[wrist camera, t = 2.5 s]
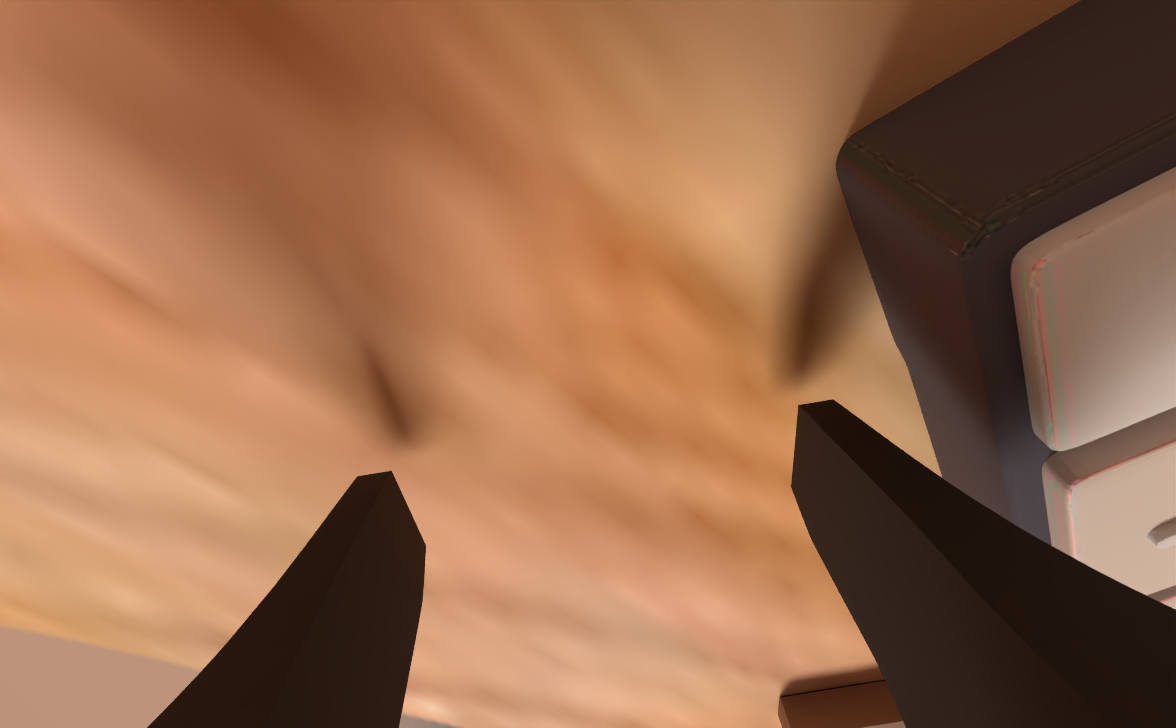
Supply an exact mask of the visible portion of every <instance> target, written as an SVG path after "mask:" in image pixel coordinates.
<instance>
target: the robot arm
mask: <svg viewBox="0 0 1176 728" xmlns="http://www.w3.org/2000/svg"><path fill="white" fill-rule="evenodd" d="M791 488H792V490H793V493H794V496H795V498H796V501H797V504H798V506H799V509H800V512H801V514H802V517H803V520H804V522H805V525H806V527H807V530H808V532H809V535H810V537H811V539H812V541H813V543H814V545H815V547H816V549H817V551H818V553H819V555H820V557H821V559H822V561H823V562H824V564H825V566H826V568H827V570H828V572H829V574H830V576H831V578H832V580H833V581H834V583H835V585H836V587H837V589H838V591H839V593H840V594H841V596H842V598H843V600H844V602H845V604H846V606H847V607H848V609H849V611H850V613H851V615H852V617H853V619H854V621H855V622H856V624H857V626H858V628H859V630H860V632H861V634H862V635H863V637H864V639H865V641H866V643H867V645H868V647H869V649H870V650H871V652H872V654H873V656H874V658H875V660H876V662H877V664H878V666H879V668H880V670H881V672H882V674H883V676H884V678H885V680H886V682H887V685H888V687H889V689H890V691H891V694H892V696H893V698H894V701H895V703H896V705H897V708H898V710H899V713H900V715H901V717H902V720H903V722H904V724H905V727H906V728H1176V609H1174V608H1172V607H1169V606H1167V605H1165V604H1163V603H1161V602H1159V601H1157V600H1155V599H1153V598H1151V597H1149V596H1147V595H1145V594H1142V593H1140V592H1138V591H1136V590H1134V589H1132V588H1130V587H1128V586H1126V585H1124V584H1122V583H1120V582H1118V581H1116V580H1114V579H1112V578H1110V577H1108V576H1107V575H1105V574H1103V573H1101V572H1099V571H1097V570H1095V569H1093V568H1091V567H1089V566H1088V565H1086V564H1084V563H1082V562H1080V561H1078V560H1077V559H1075V558H1073V557H1071V556H1069V555H1067V554H1066V553H1064V552H1062V551H1060V550H1058V549H1057V548H1055V547H1053V546H1051V545H1049V544H1047V543H1046V542H1044V541H1042V540H1040V539H1038V538H1037V537H1035V536H1033V535H1032V534H1030V533H1028V532H1027V531H1025V530H1023V529H1021V528H1020V527H1018V526H1016V525H1015V524H1013V523H1011V522H1010V521H1008V520H1007V519H1005V518H1003V517H1002V516H1000V515H999V514H997V513H995V512H994V511H992V510H991V509H989V508H987V507H986V506H984V505H983V504H981V503H979V502H978V501H976V500H975V499H973V498H971V497H970V496H968V495H967V494H965V493H964V492H962V491H961V490H959V489H958V488H956V487H955V486H953V485H952V484H950V483H949V482H947V481H946V480H944V479H943V478H941V477H940V476H938V475H937V474H935V473H934V472H933V471H931V470H930V469H928V468H927V467H925V466H924V465H922V464H921V463H920V462H918V461H917V460H915V459H914V458H913V457H911V456H910V455H908V454H907V453H906V452H904V451H903V450H901V449H900V448H899V447H897V446H896V445H894V444H893V443H892V442H890V441H889V440H888V439H886V438H885V437H884V436H882V435H881V434H879V433H878V432H877V431H875V430H874V429H873V428H871V427H870V426H869V425H867V424H866V423H865V422H863V421H862V420H861V419H859V418H858V417H857V416H855V415H854V414H852V413H851V412H850V411H848V410H847V409H846V408H844V407H843V406H842V405H840V404H839V403H837V402H836V401H835V400H827V401H821V402H815V403H809V404H802V405H798V416H797V427H796V439H795V450H794V461H793V473H792V484H791ZM425 553H426V545H425V543H424V540H423V538H422V536H421V534H420V532H419V530H418V527H417V525H416V523H415V521H414V519H413V516H412V514H411V512H410V510H409V508H408V506H407V503H406V501H405V499H404V497H403V495H402V493H401V490H400V488H399V486H398V484H397V482H396V479H395V477H394V475H393V473H392V471H388V472H382V473H376V474H369V475H363V476H357V478H356V479H355V480H354V482H353V483H352V484H351V485H350V487H349V488H348V489H347V491H346V492H345V493H344V495H343V496H342V497H341V499H340V500H339V501H338V503H337V504H336V505H335V507H334V508H333V509H332V511H331V512H330V513H329V515H328V516H327V518H326V519H325V520H324V522H323V523H322V524H321V526H320V527H319V528H318V530H317V531H316V532H315V534H314V535H313V536H312V538H311V539H310V540H309V542H308V543H307V544H306V546H305V547H304V548H303V550H302V551H301V552H300V553H299V555H298V556H297V557H296V559H295V560H294V561H293V563H292V564H291V565H290V566H289V568H288V569H287V570H286V572H285V573H284V574H283V576H282V577H281V578H280V579H279V581H278V582H277V583H276V585H275V586H274V587H273V588H272V590H271V591H270V592H269V593H268V594H267V596H266V597H265V598H264V599H263V600H262V602H261V603H260V604H259V605H258V606H257V608H256V609H255V610H254V611H253V612H252V614H251V615H250V616H249V617H248V618H247V620H246V621H245V622H244V623H243V624H242V626H241V627H240V628H239V629H238V630H237V632H236V633H235V634H234V635H233V636H232V638H231V639H230V640H229V641H228V642H227V643H226V645H225V646H224V647H223V648H222V649H221V650H220V651H219V653H218V654H217V655H216V656H215V657H214V658H213V659H212V660H211V661H210V662H209V664H208V665H207V666H206V667H205V668H204V669H203V670H202V671H201V672H200V673H199V675H198V676H197V677H196V678H195V679H194V680H193V681H192V682H191V683H190V684H189V685H188V686H187V687H186V688H185V690H183V691H182V693H180V695H179V696H178V697H177V698H176V699H175V700H174V701H173V702H172V703H171V704H170V705H169V706H168V707H167V708H166V709H165V710H164V711H163V712H162V713H161V714H160V715H159V716H158V717H157V718H156V719H155V720H154V721H153V722H152V723H151V724H150V725H149V726H148V727H147V728H399V724H400V718H401V713H402V708H403V703H404V697H405V692H406V687H407V682H408V677H409V671H410V666H411V661H412V656H413V651H414V645H415V640H416V634H417V629H418V624H419V618H420V612H421V607H422V601H423V587H424V573H425Z"/></svg>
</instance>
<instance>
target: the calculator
mask: <svg viewBox="0 0 1176 728" xmlns="http://www.w3.org/2000/svg"><path fill="white" fill-rule="evenodd" d="M836 171H837V176H838V180H839V183H840V186H841V190H842V192H843V195H844V198H845V201H846V204H847V207H848V210H849V213H850V215H851V218H852V221H853V224H854V227H855V230H856V233H857V236H858V238H859V241H860V244H861V247H862V250H863V253H864V256H865V259H866V261H867V264H868V267H869V270H870V273H871V276H872V279H873V282H874V285H875V287H876V290H877V293H878V296H879V299H880V302H881V305H882V308H883V310H884V313H885V316H886V319H887V322H888V325H889V328H890V331H891V333H892V336H893V338H894V341H895V343H896V345H897V347H898V349H899V351H900V353H901V355H902V356H903V358H904V360H905V362H906V364H907V367H908V369H909V372H910V376H911V379H912V382H913V385H914V388H915V391H916V395H917V398H918V401H919V404H920V407H921V410H922V414H923V417H924V420H925V423H926V426H927V429H928V433H929V436H930V439H931V442H932V445H933V448H934V452H935V455H936V458H937V461H938V464H939V468H940V471H941V474H942V477H943V479H944V480H946V481H947V482H949V483H950V484H952V485H953V486H955V487H956V488H958V489H959V490H961V491H962V492H964V493H965V494H967V495H968V496H970V497H971V498H973V499H975V500H976V501H978V502H979V503H981V504H983V505H984V506H986V507H987V508H989V509H991V510H992V511H994V512H995V513H997V514H999V515H1000V516H1002V517H1003V518H1005V519H1007V520H1008V521H1010V522H1011V523H1013V524H1015V525H1016V526H1018V527H1020V528H1021V529H1023V530H1025V531H1027V532H1028V533H1030V534H1032V535H1033V536H1035V537H1037V538H1038V539H1040V540H1042V541H1044V542H1046V543H1047V544H1049V545H1051V546H1053V547H1055V548H1057V549H1058V550H1060V551H1062V552H1064V553H1066V554H1067V555H1069V556H1071V557H1073V558H1075V559H1077V560H1078V561H1080V562H1082V563H1084V564H1086V565H1088V566H1089V567H1091V568H1093V569H1095V570H1097V571H1099V572H1101V573H1103V574H1105V575H1107V576H1108V577H1110V578H1112V579H1114V580H1116V581H1118V582H1120V583H1122V584H1124V585H1126V586H1128V587H1130V588H1132V589H1134V590H1136V591H1138V592H1140V593H1142V594H1145V595H1147V596H1149V597H1151V598H1153V599H1155V600H1157V601H1159V602H1161V603H1163V604H1165V605H1167V606H1169V607H1172V608H1174V609H1176V0H1081V1H1079V2H1078V3H1076V4H1074V5H1073V6H1071V7H1069V8H1068V9H1066V10H1064V11H1062V12H1061V13H1059V14H1057V15H1056V16H1054V17H1052V18H1050V19H1049V20H1047V21H1045V22H1044V23H1042V24H1040V25H1038V26H1037V27H1035V28H1033V29H1032V30H1030V31H1028V32H1026V33H1025V34H1023V35H1021V36H1020V37H1018V38H1016V39H1014V40H1013V41H1011V42H1009V43H1008V44H1006V45H1004V46H1002V47H1001V48H999V49H997V50H996V51H994V52H992V53H990V54H989V55H987V56H985V57H984V58H982V59H980V60H978V61H977V62H975V63H973V64H972V65H970V66H968V67H966V68H965V69H963V70H961V71H960V72H958V73H956V74H954V75H953V76H951V77H949V78H948V79H946V80H944V81H943V82H941V83H939V84H937V85H936V86H934V87H932V88H931V89H929V90H927V91H925V92H924V93H922V94H920V95H919V96H917V97H915V98H913V99H912V100H910V101H908V102H907V103H905V104H903V105H901V106H900V107H898V108H896V109H895V110H893V111H891V112H889V113H888V114H886V115H884V116H883V117H881V118H879V119H877V120H876V121H874V122H872V123H871V124H869V125H867V126H866V127H864V128H863V129H861V130H859V131H858V132H857V133H855V134H854V135H852V136H851V137H850V138H849V139H848V140H847V141H846V142H845V143H844V145H843V146H842V148H841V149H840V152H839V154H838V157H837V161H836Z"/></svg>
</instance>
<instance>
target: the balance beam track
mask: <svg viewBox="0 0 1176 728" xmlns="http://www.w3.org/2000/svg"><path fill="white" fill-rule="evenodd" d="M778 716H779V719H780V722H781V725H782V728H906V727H905V724H904V722H903V720H902V717H901V715H900V713H899V710H898V708H897V705H896V703H895V701H894V698H893V696H892V694H891V691H890V689H889V687H888V685H887V682H886V681H881V682H875V683H868V684H862V685H856V686H849V687H843V688H837V689H831V690H824V691H818V692H812V693H805V694H799V695H793V696H787V697H780V703H779V713H778Z"/></svg>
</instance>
